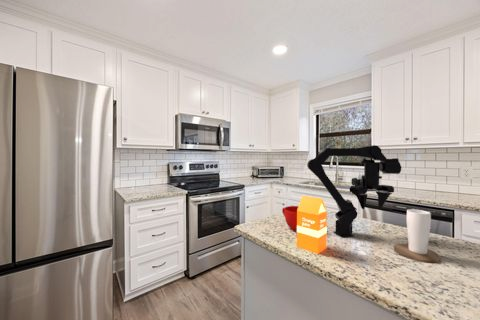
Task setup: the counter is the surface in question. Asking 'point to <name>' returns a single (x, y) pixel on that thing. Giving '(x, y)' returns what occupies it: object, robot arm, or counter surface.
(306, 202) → the orange juice
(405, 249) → the walnut coaster
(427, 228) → the white tapered cylinder
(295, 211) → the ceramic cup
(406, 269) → the counter surface
